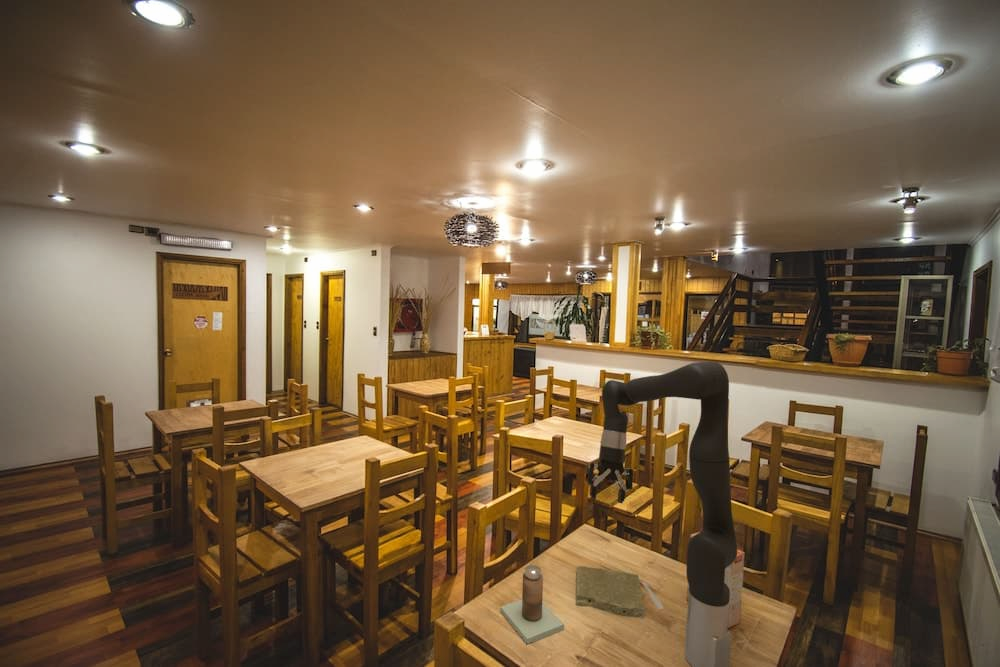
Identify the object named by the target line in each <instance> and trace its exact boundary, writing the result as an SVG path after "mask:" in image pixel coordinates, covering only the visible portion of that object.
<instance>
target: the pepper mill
mask: <svg viewBox="0 0 1000 667" xmlns="http://www.w3.org/2000/svg"><path fill="white" fill-rule="evenodd" d="M543 588H544V577H543V574H542V569H541V567H540V566H538V565H535V564H529V565H527V566H525V568H524V573H523V574H522V593H521V594H522V595H521V597H522V598H521V599H522V616H523V618H524V619H525V620H527V621H531V622H535V621H538V620H540V619H541V618H542V602H543V591H544V590H543Z"/></svg>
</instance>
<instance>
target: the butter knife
mask: <svg viewBox="0 0 1000 667" xmlns="http://www.w3.org/2000/svg"><path fill="white" fill-rule="evenodd" d="M641 583H642V585H643V587H644V588H645V589H646V592H647V593H648V595H649V597H650V599H651V600H652V603H653V604H654V606H655V607H656V608H657V609H658V610H664V605H663V604H662V603H661V601H660V600H659V598H658V597H657V595H656V594H655V593H654V591H652V590H651V589H650V587H649V586H648V584H647V583H646V582H645V581H642V582H641Z"/></svg>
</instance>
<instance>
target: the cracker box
mask: <svg viewBox="0 0 1000 667" xmlns="http://www.w3.org/2000/svg"><path fill="white" fill-rule="evenodd" d="M699 532H700V531H698V532H695V533H694V532H693V533H692V534H690V537H689V538H690V539H691V538H692V537H693V536H695V535H696V534H698V533H699ZM690 539H689V540H690ZM744 567H745V552H744V551H742V550H740V549H738V548H737V556H736V559H735V560H734V562H733V563H732V564H731V565H730V566H728V567H727V568H726V569H725V580H724V583H725V584H726V585H727V586H728V588H729V590H730V600H729V613H728V628H727V629H730V628H731V627H735V626H736V625H739V624H740V622H741V614H742V613H741V611H742V598H743V597H742V596H743V584H744V582H743V581H744ZM686 585H687V586H686V601H688V595H689V583H688V582H687V584H686Z"/></svg>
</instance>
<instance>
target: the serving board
mask: <svg viewBox="0 0 1000 667" xmlns="http://www.w3.org/2000/svg"><path fill="white" fill-rule="evenodd" d="M499 612H500V613H501V614H502V616H503V617H504V619H505V620H506V621H507V622H508V623H509V624H510V626H511V627H512V628H513V629H514V631H515V632H516V631H517V632H516V633H517V634H518V635H519V636H520V638H521V637H522V638H521V639H522V640H523V641H524V642H526V643H527V644H526V643H525V644H526V645H529V644H528V643H530V644H532V643H535V642H536V641H539V640H542V639H544V638H547V637H549V636H551V635H552V636H553V635H554V634H556V633H558V632H561V631H563V630H565V624H564V622H562V620H561V619H560V618H559V617H558V616H557V615H556V614H555V613H554V612H553V611H552V610H551V609H550V608H549V607H548V606H547V605H546V604H545V603H544V602H543V601H542V618H541V619H540V620H538V621H535V622H531V621H527V620H525V619H524V618H523V616H522V598H521V599H519V600H516V601H512V602H510V603H507V604H504V605H501V606H500V610H499ZM534 641H535V642H534ZM531 642H532V643H531Z"/></svg>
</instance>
